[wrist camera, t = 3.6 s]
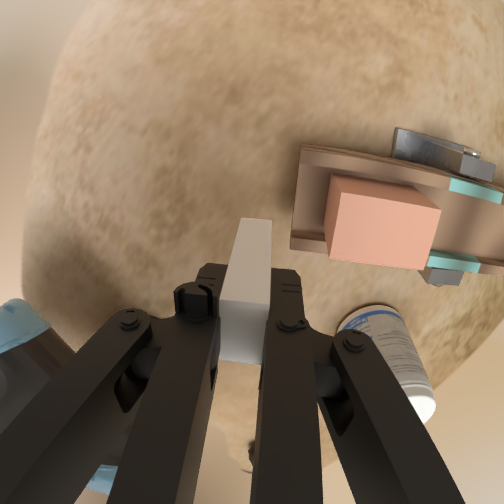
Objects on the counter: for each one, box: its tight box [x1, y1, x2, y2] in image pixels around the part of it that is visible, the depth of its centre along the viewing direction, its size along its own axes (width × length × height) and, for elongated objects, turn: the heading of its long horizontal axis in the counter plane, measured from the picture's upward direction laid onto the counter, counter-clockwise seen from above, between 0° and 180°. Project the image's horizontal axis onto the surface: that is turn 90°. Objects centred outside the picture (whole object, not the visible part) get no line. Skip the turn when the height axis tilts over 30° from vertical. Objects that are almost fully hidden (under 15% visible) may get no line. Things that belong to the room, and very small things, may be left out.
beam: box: [290, 144, 504, 276], centre depth 24 cm, size 30×8×8 cm, turn 86°
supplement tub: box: [337, 305, 436, 424], centre depth 32 cm, size 10×10×15 cm
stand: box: [391, 128, 495, 287], centre depth 26 cm, size 10×13×8 cm
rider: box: [323, 173, 442, 270], centre depth 21 cm, size 7×4×6 cm, turn 86°
